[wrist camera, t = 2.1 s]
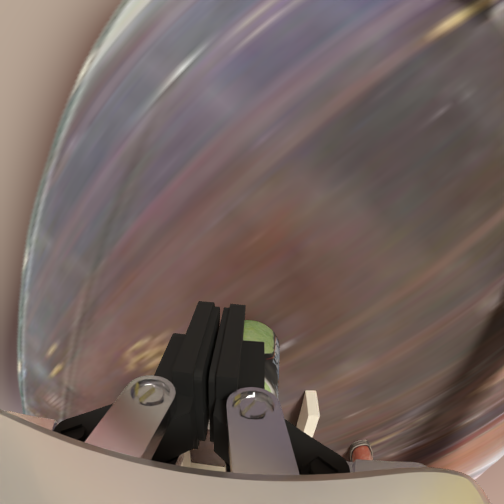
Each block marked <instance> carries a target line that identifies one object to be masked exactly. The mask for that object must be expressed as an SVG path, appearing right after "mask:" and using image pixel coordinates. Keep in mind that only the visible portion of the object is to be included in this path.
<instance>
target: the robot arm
mask: <svg viewBox="0 0 504 504" xmlns="http://www.w3.org/2000/svg"><path fill="white" fill-rule="evenodd" d="M244 321H245V305H236V304H230V308H225V307H224V310H223V315H222V319H221V323H220V307H215V304H214V303H213V302H202V301H199V302H198V305H197V307H196V310H195V312H194V315H193V317H192V320H191V322H190V325H189V327H188V330H187V333H186V335H185V334H177V333H174V334H173V335H172V337H171V339H170V341H169V344H168V346H167V348H166V350H165V352H164V355H163V357H162V359H161V361H160V364H159V366H158V368H157V370H156V373H155V375H151V376H142V377H138V378H136V379H134V380H133V381H131V382H130V383H129V384H128V385H127V387H126V388H125V389H124V390H123V392H122V393H121V394H120V396H119V397H118V398H117V400H116V401H115V402H114V403H113V404H111V405H108V406H105V407H102V408H99V409H96V410H93V411H90V412H87V413H84V414H81V415H78V416H75V417H72V418H69V419H66V420H64V421H62V422H60V423H59V424H58V423H56V421H55V420H53V419H47V418H41V417H35V416H30V415H25V414H20V413H15V412H11V411H3V410H1V409H0V504H491V502H490V500H489V499H488V497H487V496H486V494H485V492H484V491H483V489H482V488H481V487H480V485H479V484H478V483H477V482H476V481H475V480H474V479H472V478H471V477H470V476H468V475H466V474H464V473H461V472H458V471H454V470H449V469H440V468H431V467H427V466H425V465H423V464H421V463H417V462H393V461H374V460H361V459H356V460H355V461H354V462H347V461H346V460H345V459H344V458H342V457H341V456H340V455H339V454H337V453H335V452H334V451H332V450H331V449H329V448H327V447H326V446H324V445H323V444H321V443H320V442H318V441H316V440H315V439H313V438H312V437H310V436H309V435H307V434H306V433H304V432H303V431H301V430H300V429H298V428H297V427H295V426H294V425H293V424H291V423H290V422H288V421H287V420H285V419H284V416H283V412H282V409H281V405H280V402H279V400H278V398H277V397H276V396H275V395H274V394H273V393H271V392H269V391H267V390H265V350H264V342H260V341H246V340H243V335H244ZM219 327H220V328H219ZM208 424H210V442H214V451H215V452H216V453H217V454H218V455H219V456H220V457H221V458H222V459H223V460H224V461H225V472H222V471H213V470H205V469H197V468H190V467H184V466H181V464H182V462H183V458H184V453H185V452H187V451H189V450H191V449H193V448H194V449H198V445H199V440H201V441H205V440H206V435H207V430H208Z"/></svg>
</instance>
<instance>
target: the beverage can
mask: <svg viewBox="0 0 504 504" xmlns="http://www.w3.org/2000/svg"><path fill="white" fill-rule="evenodd" d="M243 340H246V341H260V342H264V350H265V390H267V391H269V392H271V393H273V394H274V395H275V396H276V397H277V398H278V382H279V348H280V347H279V341H278V339H277V337H276V335H275V333H274V332H273V331H272V330H271V329H270V328H269V327H267V326H266V325H264V324H262V323H260V322H257V321H252V320H245V321H244V335H243ZM208 429H209V430H210V424H208Z"/></svg>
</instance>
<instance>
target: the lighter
mask: <svg viewBox="0 0 504 504" xmlns="http://www.w3.org/2000/svg"><path fill="white" fill-rule="evenodd" d="M356 459H361V460H373V453H372V449H371V446H370V444H369V442H368V441H367V440H359V441H356V442H354V443H353V444H352V445H351V447H350V461H351V462H354V461H355V460H356Z"/></svg>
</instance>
